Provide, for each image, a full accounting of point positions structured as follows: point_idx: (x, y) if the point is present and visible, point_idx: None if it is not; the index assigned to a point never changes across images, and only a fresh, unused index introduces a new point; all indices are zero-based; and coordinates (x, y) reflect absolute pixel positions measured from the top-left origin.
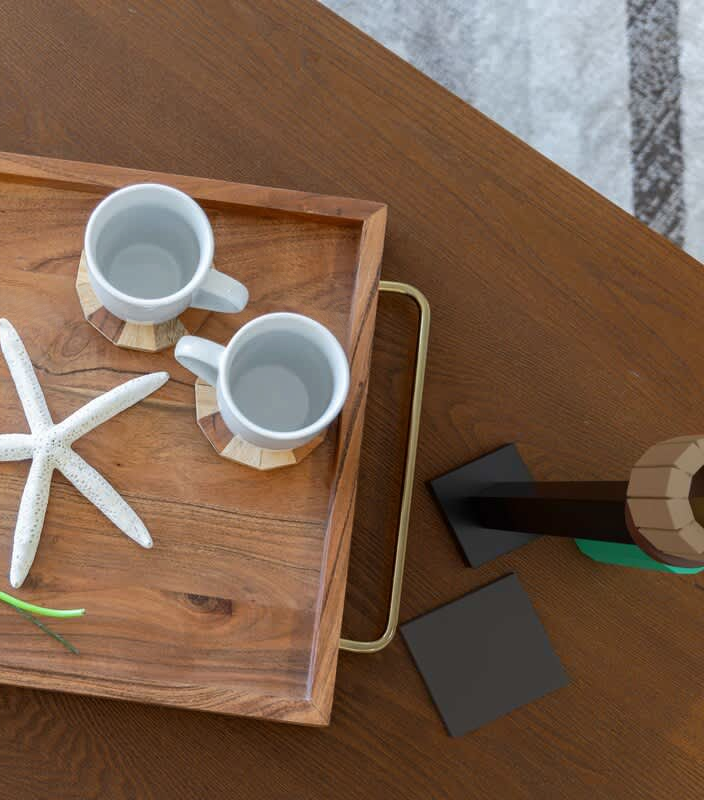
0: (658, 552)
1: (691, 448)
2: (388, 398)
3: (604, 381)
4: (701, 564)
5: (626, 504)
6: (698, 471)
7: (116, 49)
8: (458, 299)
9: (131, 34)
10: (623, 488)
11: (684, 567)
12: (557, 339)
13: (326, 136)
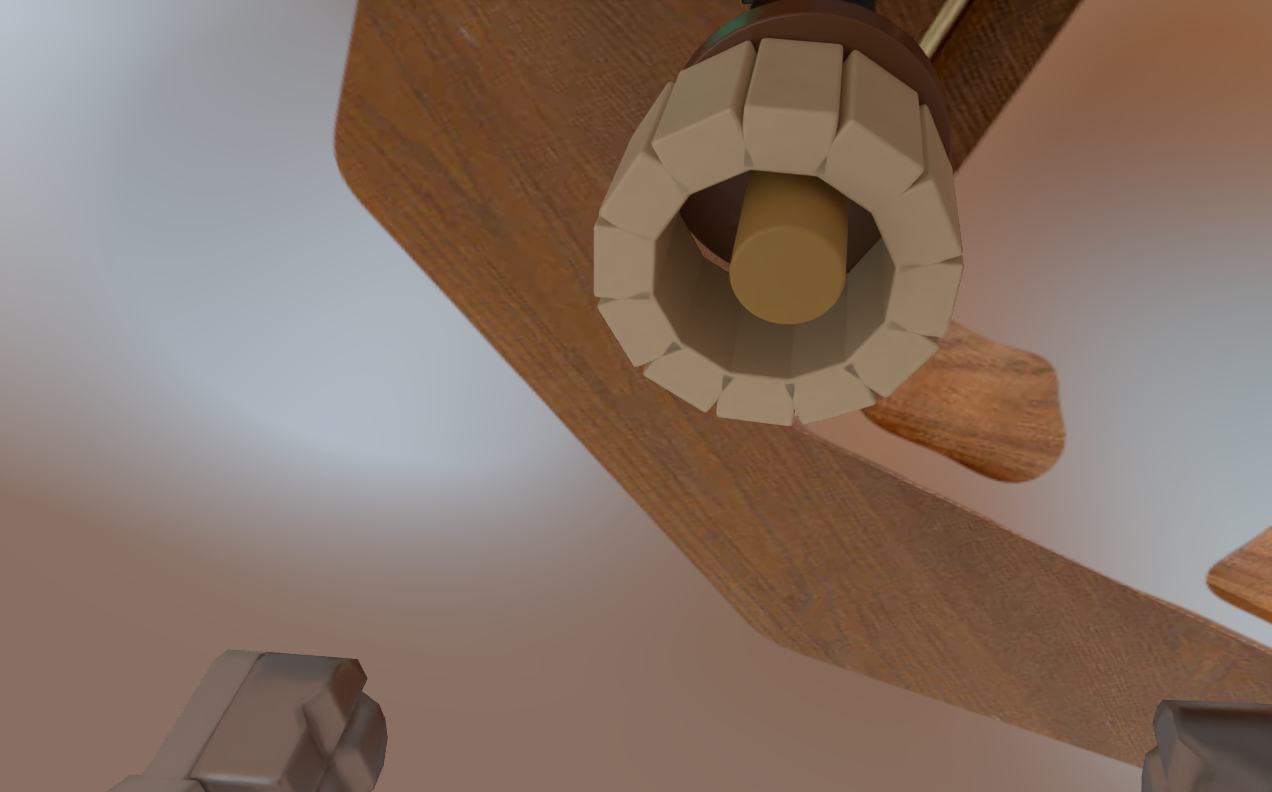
0: (927, 95)
1: (813, 415)
2: None
3: (524, 40)
4: (828, 23)
5: None
6: (729, 244)
7: (1043, 695)
8: None
9: (1013, 700)
10: None
11: (878, 32)
12: (585, 140)
13: (822, 521)
